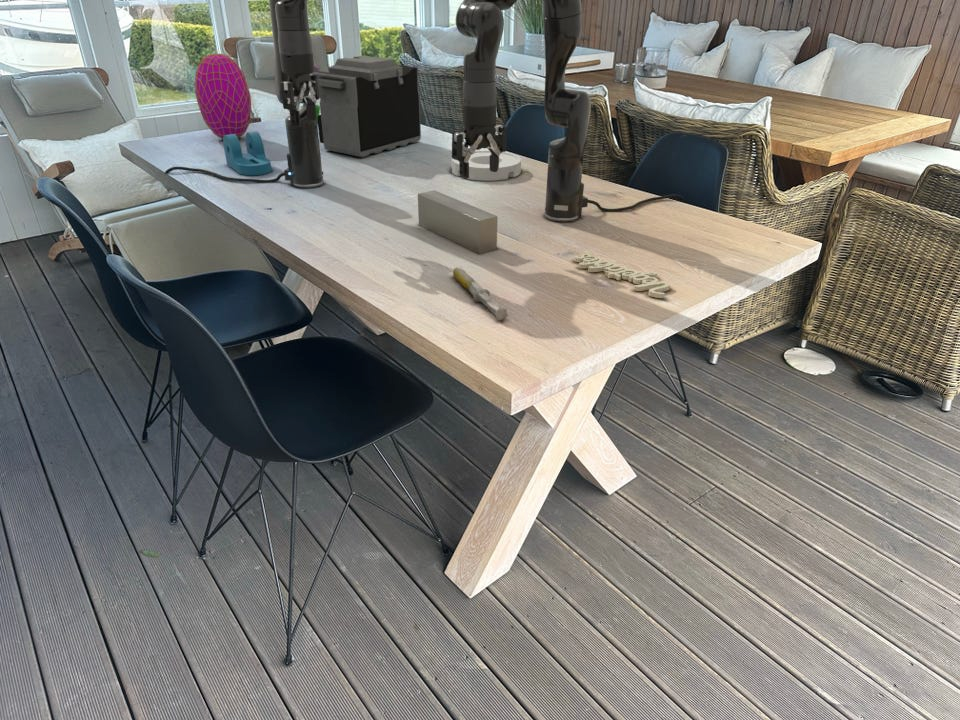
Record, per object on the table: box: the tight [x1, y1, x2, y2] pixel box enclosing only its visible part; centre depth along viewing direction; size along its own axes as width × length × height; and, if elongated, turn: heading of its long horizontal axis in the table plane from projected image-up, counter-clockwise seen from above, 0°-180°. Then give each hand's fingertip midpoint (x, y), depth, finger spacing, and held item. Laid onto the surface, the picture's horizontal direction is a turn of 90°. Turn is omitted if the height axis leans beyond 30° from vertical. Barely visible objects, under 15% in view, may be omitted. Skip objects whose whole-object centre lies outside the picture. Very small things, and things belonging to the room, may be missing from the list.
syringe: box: [452, 266, 509, 321], centre depth 145 cm, size 25×4×3 cm, turn 21°
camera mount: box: [222, 131, 272, 176], centre depth 226 cm, size 18×10×10 cm, turn 35°
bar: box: [417, 189, 498, 255], centre depth 174 cm, size 26×5×8 cm, turn 39°
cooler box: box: [311, 55, 422, 159], centre depth 250 cm, size 37×22×30 cm, turn 144°
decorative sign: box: [574, 252, 671, 299], centre depth 155 cm, size 26×1×10 cm
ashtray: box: [451, 149, 522, 182], centre depth 228 cm, size 23×23×4 cm
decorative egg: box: [194, 53, 252, 140], centre depth 258 cm, size 19×19×30 cm
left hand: (304, 123), depth 167 cm, fingers open, 8 cm apart
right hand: (479, 174), depth 161 cm, fingers open, 8 cm apart
